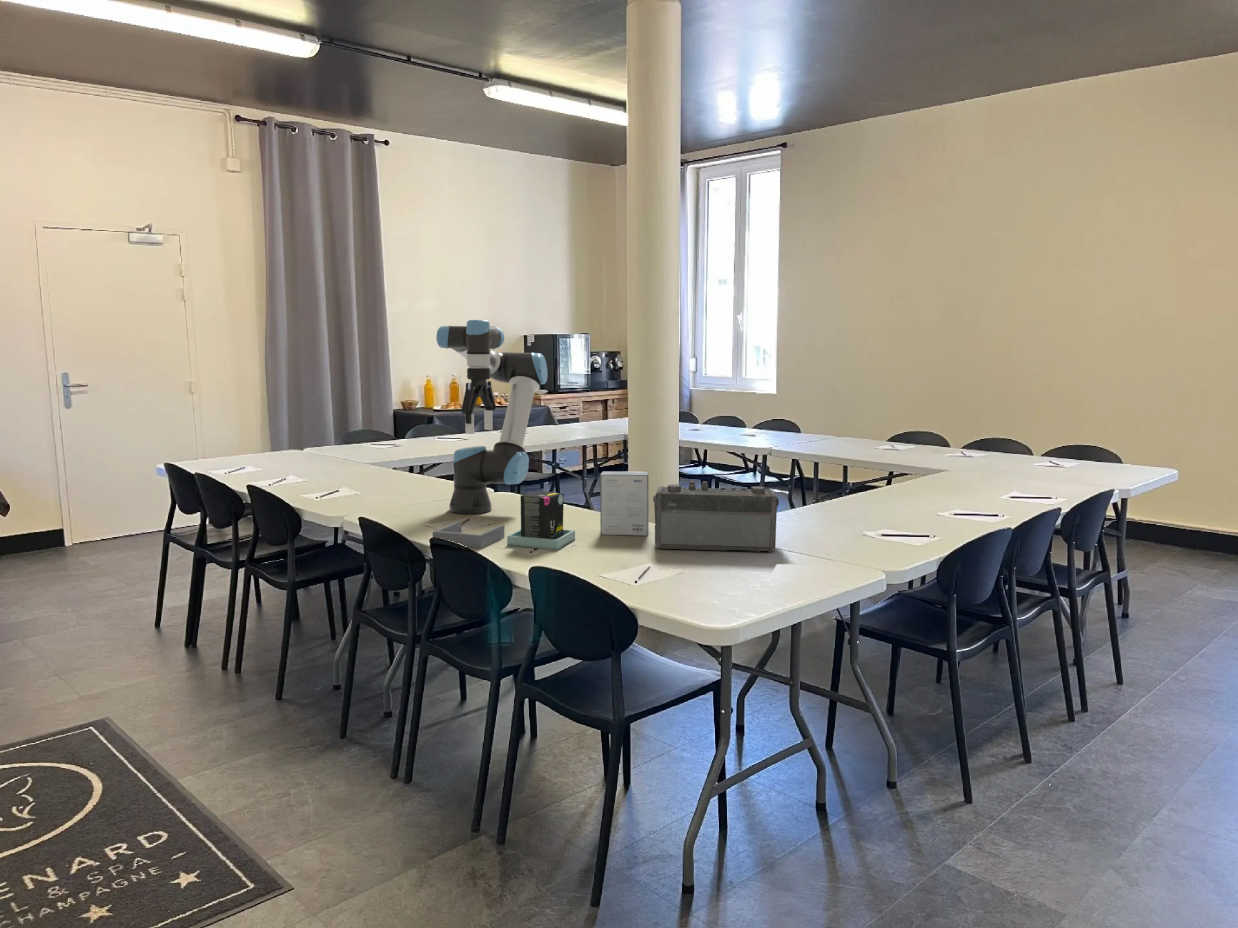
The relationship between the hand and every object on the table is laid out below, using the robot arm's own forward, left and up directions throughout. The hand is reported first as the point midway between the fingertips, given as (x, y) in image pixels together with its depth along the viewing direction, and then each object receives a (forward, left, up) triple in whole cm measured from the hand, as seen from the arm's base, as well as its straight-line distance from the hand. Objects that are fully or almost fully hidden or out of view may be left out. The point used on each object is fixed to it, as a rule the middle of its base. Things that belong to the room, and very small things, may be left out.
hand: (479, 431), depth 295 cm
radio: (+2, +81, -32) cm, 87 cm away
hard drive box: (-6, +49, -32) cm, 59 cm away
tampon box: (+16, +29, -31) cm, 45 cm away
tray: (+16, +29, -32) cm, 46 cm away
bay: (+21, +7, -32) cm, 39 cm away
